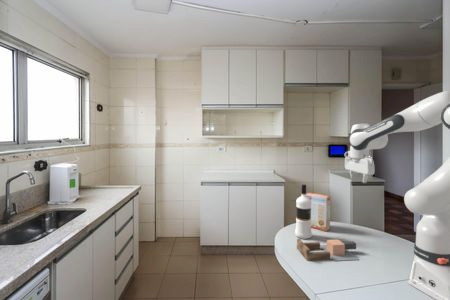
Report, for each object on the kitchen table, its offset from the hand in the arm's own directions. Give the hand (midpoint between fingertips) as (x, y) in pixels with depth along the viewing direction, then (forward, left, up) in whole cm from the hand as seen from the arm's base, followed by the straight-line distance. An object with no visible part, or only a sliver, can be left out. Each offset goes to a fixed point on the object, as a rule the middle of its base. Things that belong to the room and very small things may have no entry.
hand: (358, 180), depth 132 cm
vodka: (+13, +24, -34) cm, 44 cm away
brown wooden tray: (-8, +27, -34) cm, 44 cm away
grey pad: (-8, +15, -34) cm, 38 cm away
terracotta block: (-8, +13, -34) cm, 37 cm away
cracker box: (+25, +10, -34) cm, 44 cm away
